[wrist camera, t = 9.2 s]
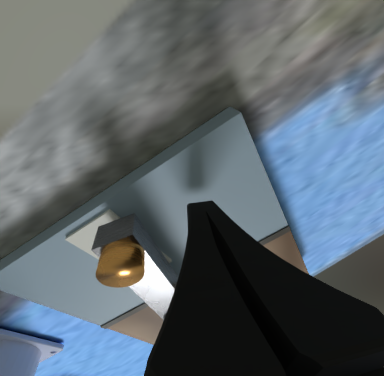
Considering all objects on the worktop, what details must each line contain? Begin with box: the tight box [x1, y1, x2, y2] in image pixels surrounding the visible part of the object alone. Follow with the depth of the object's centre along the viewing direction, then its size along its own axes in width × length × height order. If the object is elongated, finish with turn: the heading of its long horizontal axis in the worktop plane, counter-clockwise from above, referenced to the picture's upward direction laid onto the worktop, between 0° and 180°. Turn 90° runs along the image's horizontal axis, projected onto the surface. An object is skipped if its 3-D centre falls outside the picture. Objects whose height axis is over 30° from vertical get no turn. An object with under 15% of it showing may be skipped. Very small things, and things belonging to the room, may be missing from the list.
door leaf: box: [0, 106, 288, 326], centre depth 14 cm, size 18×10×2 cm, turn 121°
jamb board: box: [101, 225, 309, 345], centre depth 19 cm, size 18×9×2 cm, turn 121°
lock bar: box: [91, 213, 178, 321], centre depth 12 cm, size 10×2×3 cm, turn 18°
